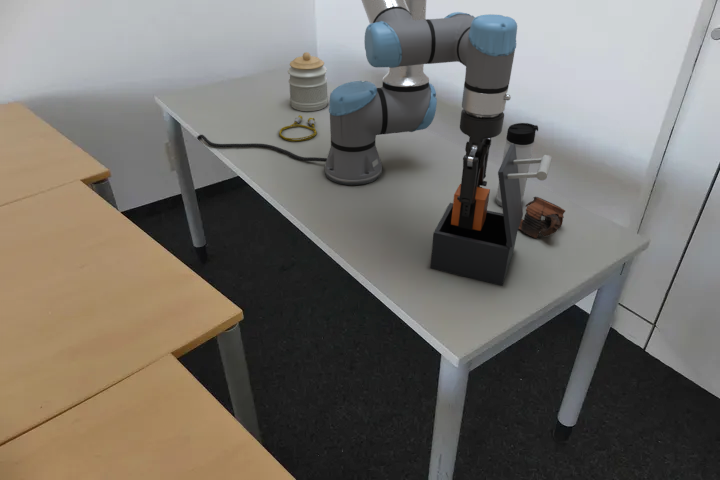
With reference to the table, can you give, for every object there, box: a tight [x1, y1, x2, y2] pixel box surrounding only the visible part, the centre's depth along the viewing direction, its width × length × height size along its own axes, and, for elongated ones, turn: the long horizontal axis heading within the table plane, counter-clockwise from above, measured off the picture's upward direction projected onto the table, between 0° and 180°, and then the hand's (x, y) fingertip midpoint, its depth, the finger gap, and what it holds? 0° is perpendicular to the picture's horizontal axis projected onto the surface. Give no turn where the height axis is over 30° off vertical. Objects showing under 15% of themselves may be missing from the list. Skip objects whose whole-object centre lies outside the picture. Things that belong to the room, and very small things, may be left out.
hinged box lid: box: [497, 144, 553, 247], centre depth 101 cm, size 16×12×8 cm
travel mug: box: [495, 122, 539, 207], centre depth 127 cm, size 6×7×20 cm
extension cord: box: [278, 115, 318, 142], centre depth 167 cm, size 12×16×2 cm
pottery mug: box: [518, 196, 566, 239], centre depth 121 cm, size 12×10×8 cm
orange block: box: [451, 183, 491, 231], centre depth 107 cm, size 6×5×7 cm
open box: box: [430, 202, 518, 287], centre depth 111 cm, size 15×12×9 cm
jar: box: [287, 51, 329, 112], centre depth 181 cm, size 13×13×18 cm
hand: (468, 220), depth 109 cm, fingers closed on orange block, 5 cm apart
